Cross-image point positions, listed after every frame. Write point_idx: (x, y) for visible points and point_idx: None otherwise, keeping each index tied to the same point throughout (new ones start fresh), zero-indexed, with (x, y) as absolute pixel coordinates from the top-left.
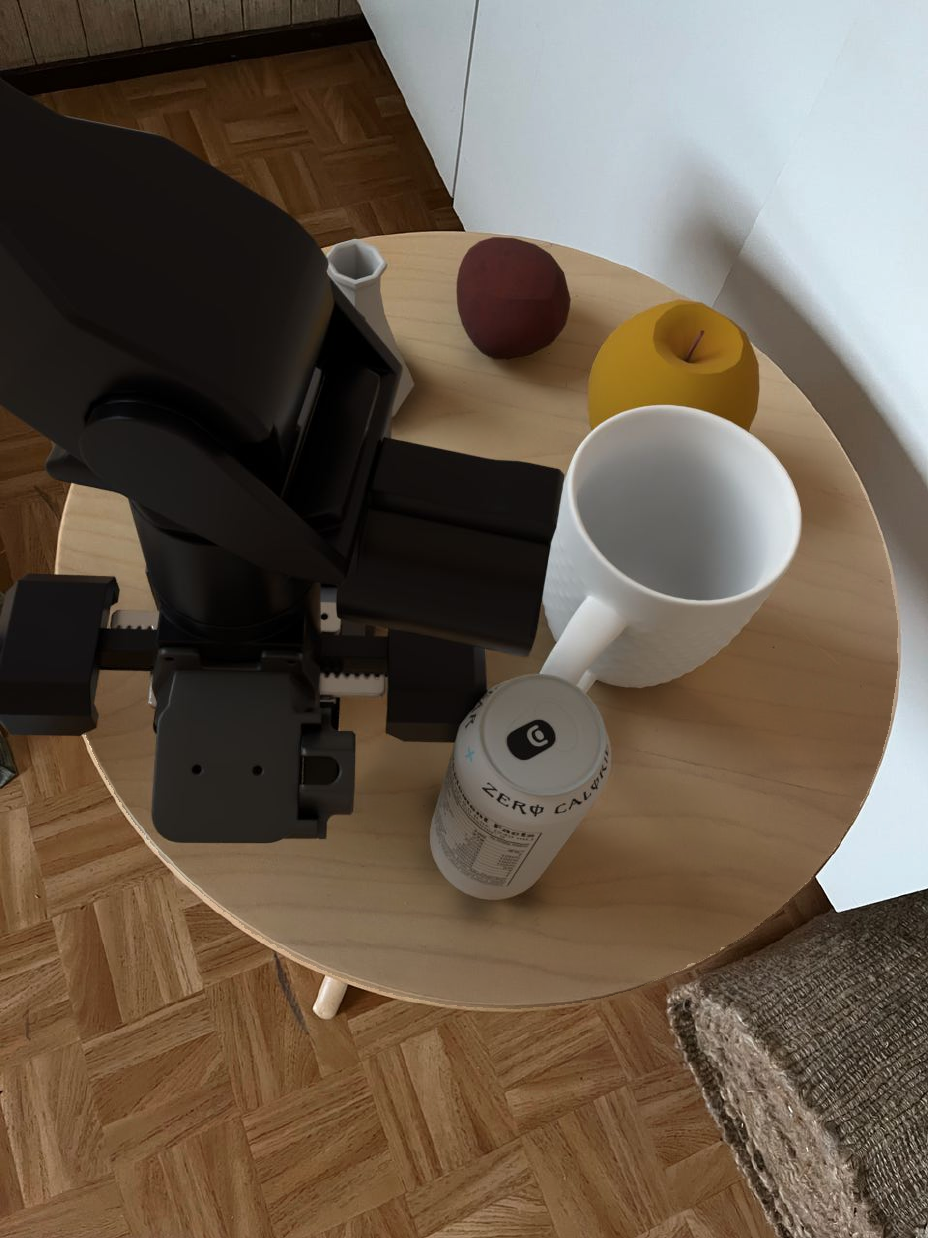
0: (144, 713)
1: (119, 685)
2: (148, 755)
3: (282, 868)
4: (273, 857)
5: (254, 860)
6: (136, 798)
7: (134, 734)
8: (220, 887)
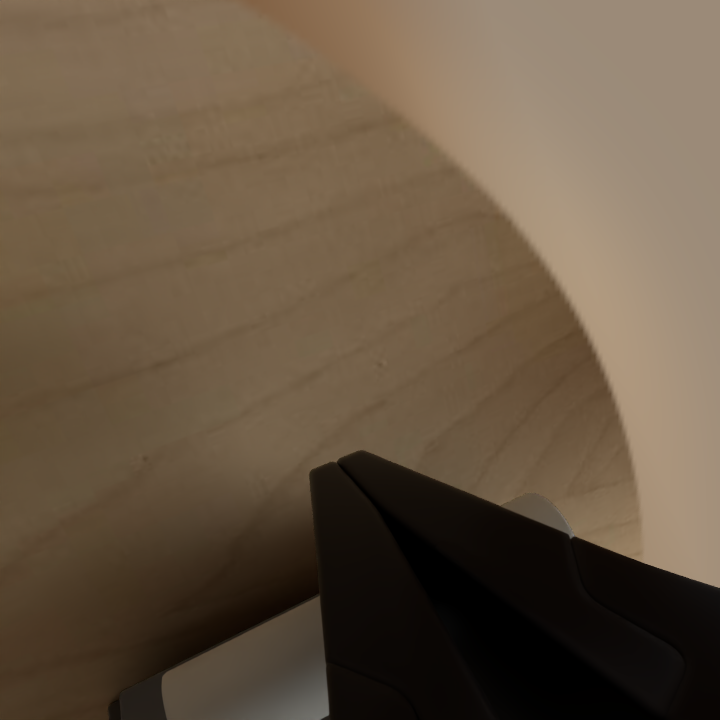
0: (517, 398)
1: (560, 427)
2: (498, 325)
3: (127, 138)
4: (165, 166)
5: (215, 146)
6: (504, 231)
7: (526, 355)
8: (280, 48)
